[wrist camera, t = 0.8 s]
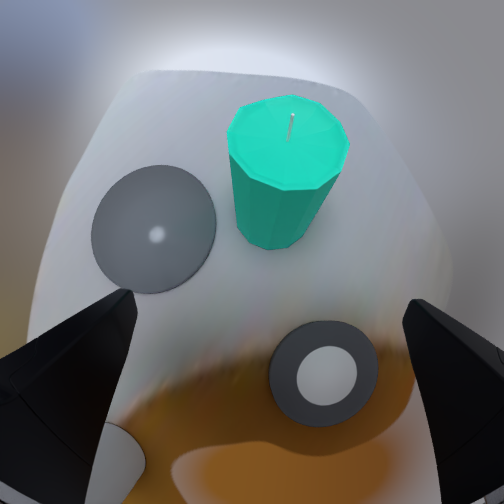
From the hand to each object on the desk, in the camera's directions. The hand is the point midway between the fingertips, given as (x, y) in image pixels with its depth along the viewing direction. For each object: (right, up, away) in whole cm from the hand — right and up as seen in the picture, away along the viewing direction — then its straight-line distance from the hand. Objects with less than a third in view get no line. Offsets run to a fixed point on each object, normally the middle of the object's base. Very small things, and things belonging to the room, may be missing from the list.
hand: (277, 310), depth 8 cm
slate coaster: (-9, +4, +14) cm, 17 cm away
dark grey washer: (+4, -7, +11) cm, 14 cm away
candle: (+1, +5, +15) cm, 15 cm away
